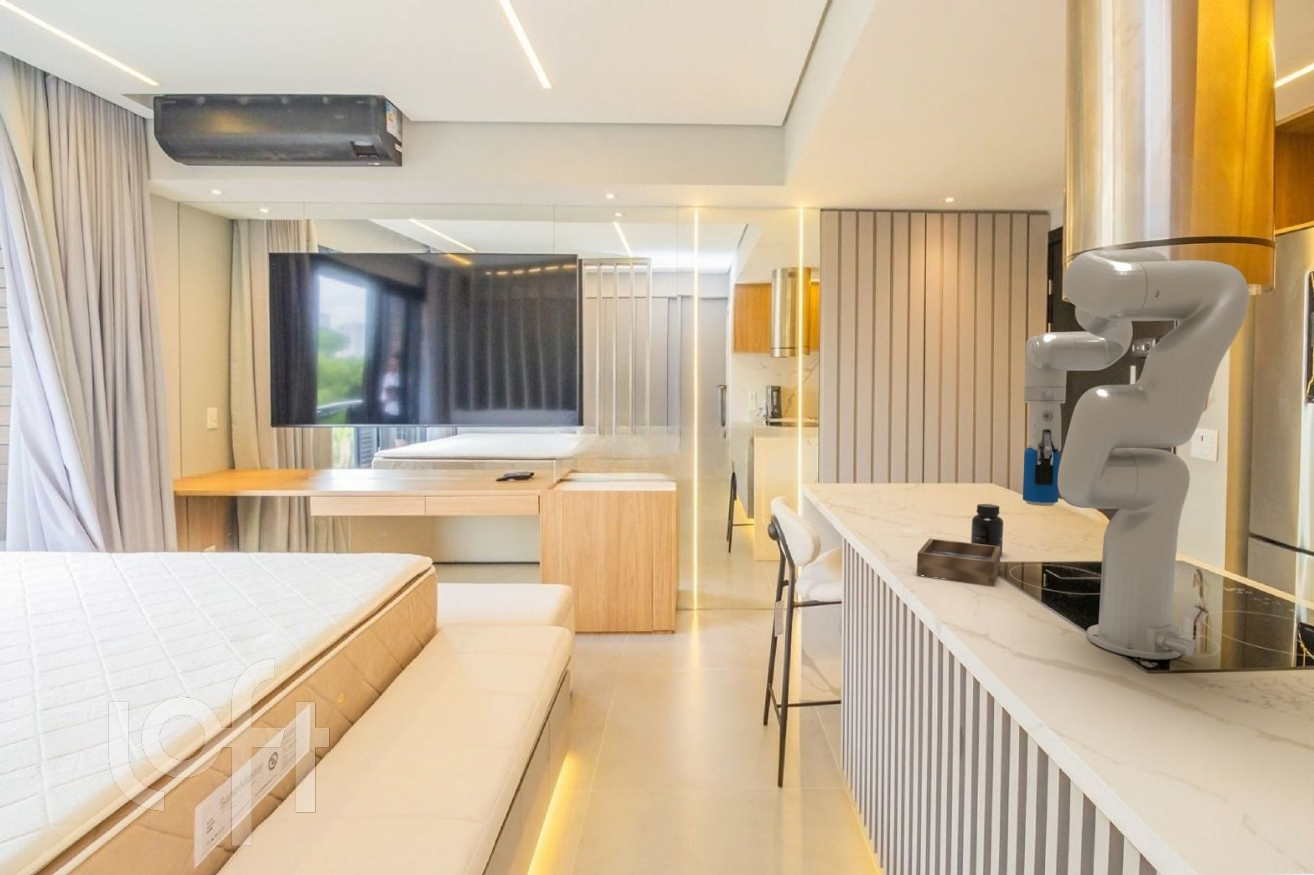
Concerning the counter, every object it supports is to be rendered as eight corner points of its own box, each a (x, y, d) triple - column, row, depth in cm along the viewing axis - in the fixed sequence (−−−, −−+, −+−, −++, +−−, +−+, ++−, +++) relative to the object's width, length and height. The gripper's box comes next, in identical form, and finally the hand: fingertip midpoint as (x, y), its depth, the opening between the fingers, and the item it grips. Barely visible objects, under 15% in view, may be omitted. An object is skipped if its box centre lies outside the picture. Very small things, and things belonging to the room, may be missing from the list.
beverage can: (1064, 506, 141) (1066, 448, 140) (1032, 506, 141) (1034, 448, 141) (1047, 501, 148) (1049, 445, 147) (1016, 501, 148) (1018, 445, 147)
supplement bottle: (1007, 558, 163) (1009, 508, 162) (978, 558, 163) (980, 508, 162) (993, 551, 170) (995, 502, 169) (965, 551, 170) (967, 502, 169)
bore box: (999, 568, 155) (1000, 546, 154) (993, 586, 142) (994, 562, 141) (928, 559, 162) (929, 538, 162) (916, 575, 149) (917, 552, 149)
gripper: (1073, 397, 133) (1069, 489, 135) (1058, 395, 150) (1054, 477, 151) (1029, 396, 136) (1025, 487, 138) (1019, 395, 152) (1015, 476, 154)
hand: (1040, 481), depth 144 cm, fingers closed on beverage can, 6 cm apart
